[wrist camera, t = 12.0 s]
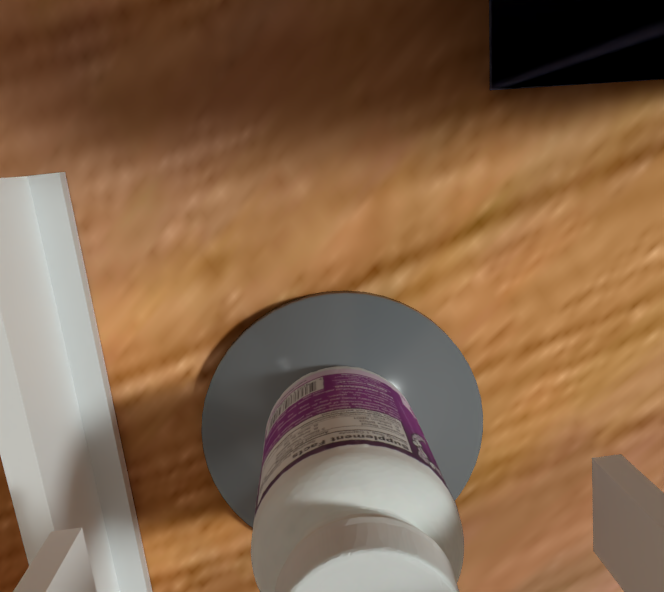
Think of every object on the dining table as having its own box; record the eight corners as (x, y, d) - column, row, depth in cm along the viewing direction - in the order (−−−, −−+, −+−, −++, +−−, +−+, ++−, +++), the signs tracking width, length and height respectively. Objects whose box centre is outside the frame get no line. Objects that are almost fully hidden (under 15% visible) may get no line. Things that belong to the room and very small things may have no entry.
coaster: (226, 561, 23) (224, 571, 23) (183, 309, 21) (179, 313, 21) (485, 527, 24) (490, 537, 23) (469, 274, 21) (474, 277, 21)
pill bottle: (416, 494, 23) (500, 738, 13) (271, 505, 22) (250, 760, 13) (413, 354, 21) (503, 511, 12) (260, 364, 21) (228, 532, 12)
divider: (85, 648, 24) (43, 743, 20) (-28, 182, 20) (-109, 189, 16) (162, 637, 24) (134, 730, 20) (65, 171, 20) (7, 176, 16)
